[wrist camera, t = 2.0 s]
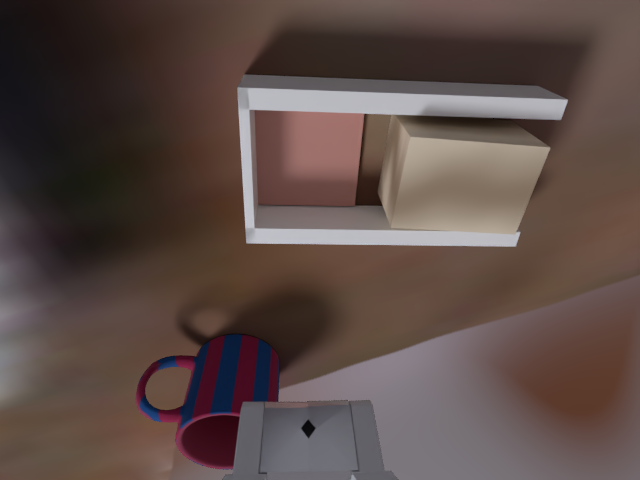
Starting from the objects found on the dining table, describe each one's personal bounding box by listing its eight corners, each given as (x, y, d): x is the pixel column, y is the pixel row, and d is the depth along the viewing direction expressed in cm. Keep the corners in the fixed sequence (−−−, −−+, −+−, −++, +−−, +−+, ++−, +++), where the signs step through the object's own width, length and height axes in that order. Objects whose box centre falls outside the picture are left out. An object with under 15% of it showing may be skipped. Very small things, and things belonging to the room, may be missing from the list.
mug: (253, 399, 36) (245, 479, 30) (142, 356, 33) (110, 438, 27) (295, 354, 33) (295, 432, 28) (180, 302, 30) (152, 380, 24)
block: (391, 110, 23) (410, 136, 19) (510, 120, 24) (550, 147, 20) (377, 190, 26) (390, 227, 22) (484, 197, 27) (515, 234, 23)
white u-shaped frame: (244, 74, 22) (237, 87, 19) (537, 85, 23) (568, 99, 20) (251, 217, 26) (246, 243, 24) (495, 221, 27) (515, 246, 25)
